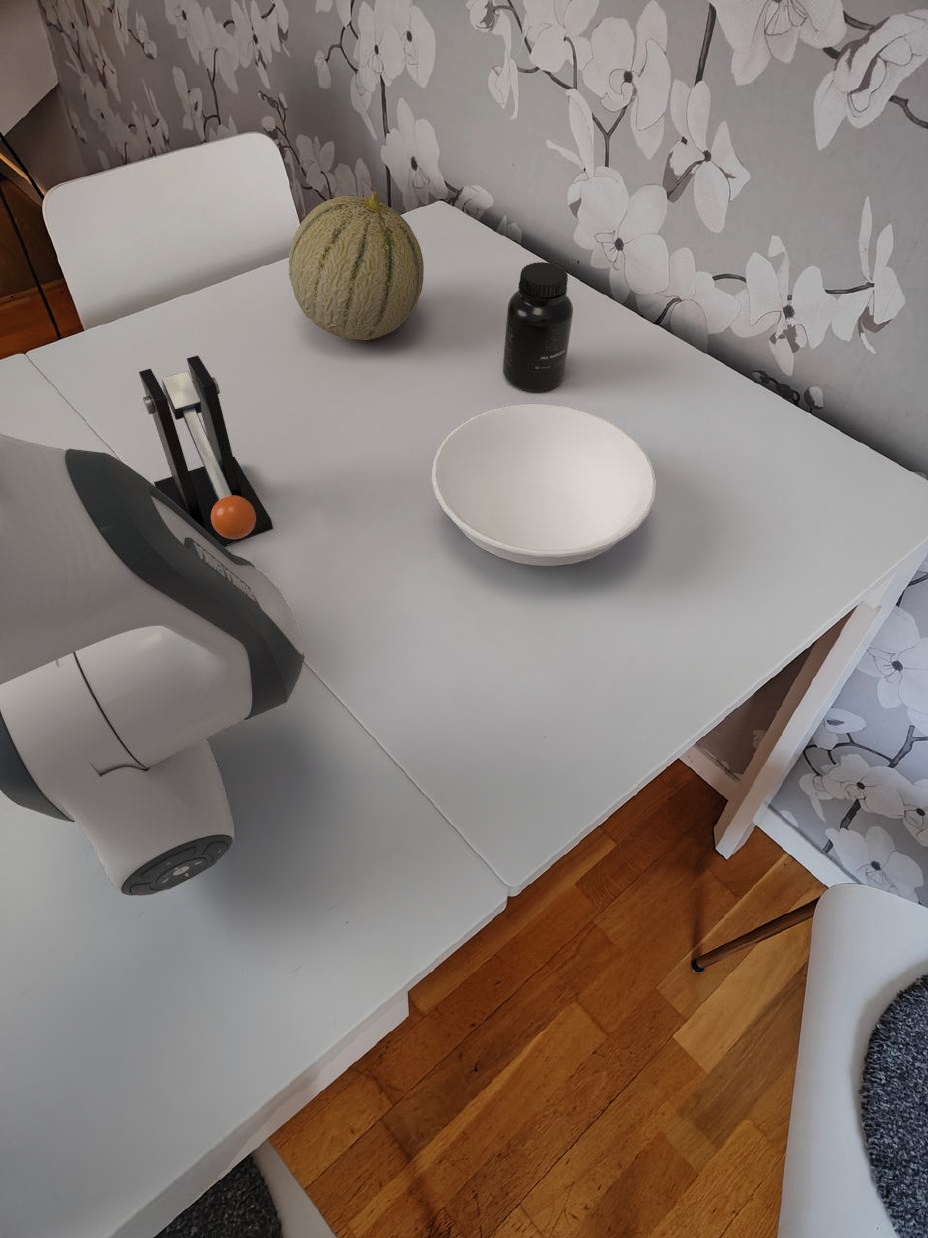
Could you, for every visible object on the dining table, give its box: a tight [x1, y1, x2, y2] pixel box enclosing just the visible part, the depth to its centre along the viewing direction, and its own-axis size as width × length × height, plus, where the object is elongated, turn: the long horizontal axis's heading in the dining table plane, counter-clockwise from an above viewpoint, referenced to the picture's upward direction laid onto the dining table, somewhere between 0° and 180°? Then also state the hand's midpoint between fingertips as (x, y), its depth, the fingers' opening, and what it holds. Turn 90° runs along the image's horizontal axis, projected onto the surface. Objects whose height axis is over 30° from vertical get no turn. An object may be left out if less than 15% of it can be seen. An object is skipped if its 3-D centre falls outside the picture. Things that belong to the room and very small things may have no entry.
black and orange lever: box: [138, 354, 274, 547], centre depth 76 cm, size 10×8×15 cm
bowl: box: [431, 403, 657, 567], centre depth 79 cm, size 20×20×6 cm
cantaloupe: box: [288, 190, 425, 341], centre depth 95 cm, size 15×15×15 cm
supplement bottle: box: [502, 261, 574, 393], centre depth 92 cm, size 7×7×12 cm
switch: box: [161, 370, 256, 539], centre depth 72 cm, size 14×4×4 cm
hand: (65, 558), depth 69 cm, fingers open, 8 cm apart
